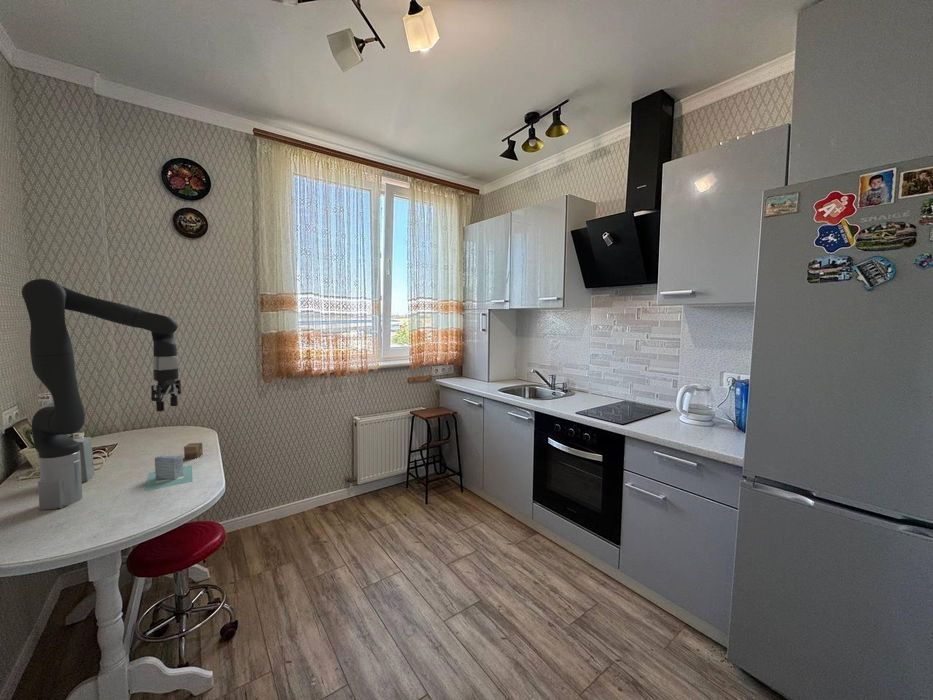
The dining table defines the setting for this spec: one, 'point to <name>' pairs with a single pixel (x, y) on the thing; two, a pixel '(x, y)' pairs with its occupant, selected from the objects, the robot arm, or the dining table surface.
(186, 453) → the walnut block
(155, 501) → the dining table surface
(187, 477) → the letter card
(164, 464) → the medicine box
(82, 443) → the skincare box
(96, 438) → the dining table surface
